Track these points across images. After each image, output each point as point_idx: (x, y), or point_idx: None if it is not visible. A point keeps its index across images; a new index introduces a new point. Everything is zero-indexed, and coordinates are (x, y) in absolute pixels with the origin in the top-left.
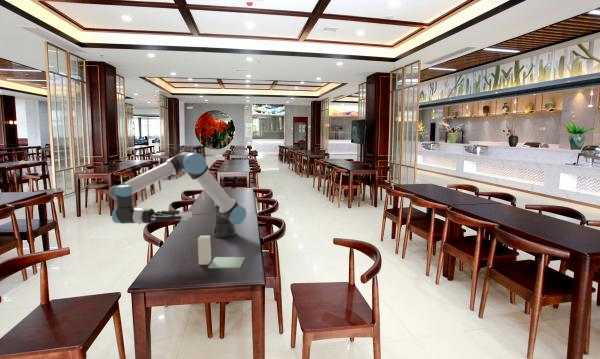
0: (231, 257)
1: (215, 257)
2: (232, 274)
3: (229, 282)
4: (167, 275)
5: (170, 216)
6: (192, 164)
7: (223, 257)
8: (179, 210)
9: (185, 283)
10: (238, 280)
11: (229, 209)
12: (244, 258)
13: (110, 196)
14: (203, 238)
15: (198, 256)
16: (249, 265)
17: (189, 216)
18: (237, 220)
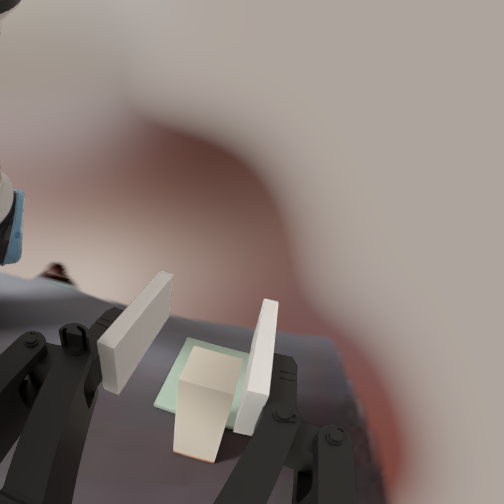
0: (178, 364)
1: (158, 404)
2: (304, 378)
3: (352, 384)
4: None
5: (345, 433)
6: None
7: (169, 383)
8: (75, 324)
9: (374, 478)
10: (338, 368)
11: (9, 210)
12: (195, 340)
13: None
14: (239, 372)
15: (218, 446)
16: (244, 341)
17: (164, 319)
18: (21, 246)
